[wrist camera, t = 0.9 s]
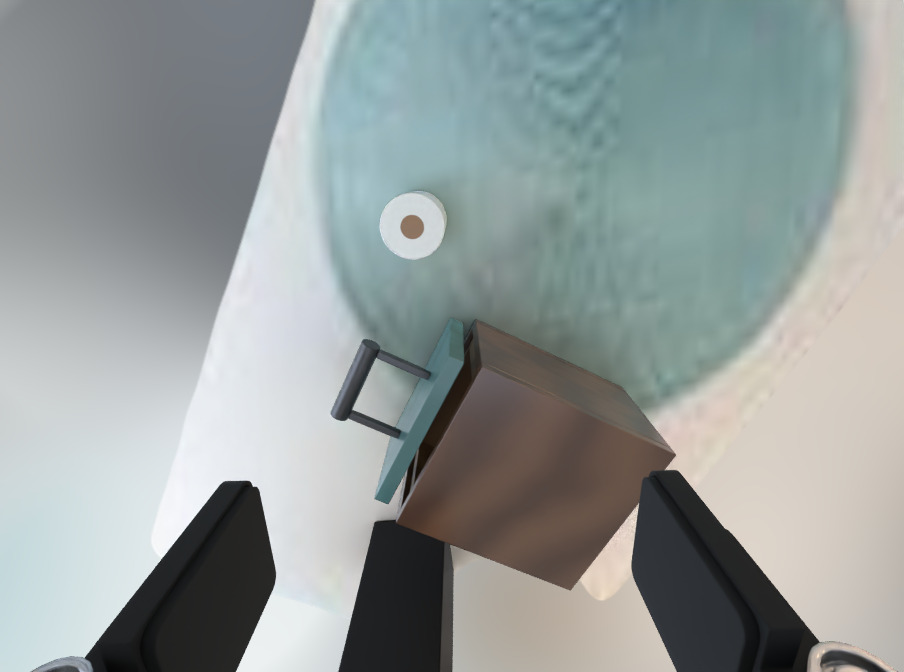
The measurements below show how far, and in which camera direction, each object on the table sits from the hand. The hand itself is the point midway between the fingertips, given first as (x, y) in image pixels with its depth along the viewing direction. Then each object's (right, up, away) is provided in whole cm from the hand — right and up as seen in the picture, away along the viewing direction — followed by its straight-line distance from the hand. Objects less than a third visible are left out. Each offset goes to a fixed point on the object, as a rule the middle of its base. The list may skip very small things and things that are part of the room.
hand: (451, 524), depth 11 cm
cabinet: (+6, -3, +32) cm, 33 cm away
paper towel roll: (-3, +14, +26) cm, 30 cm away
